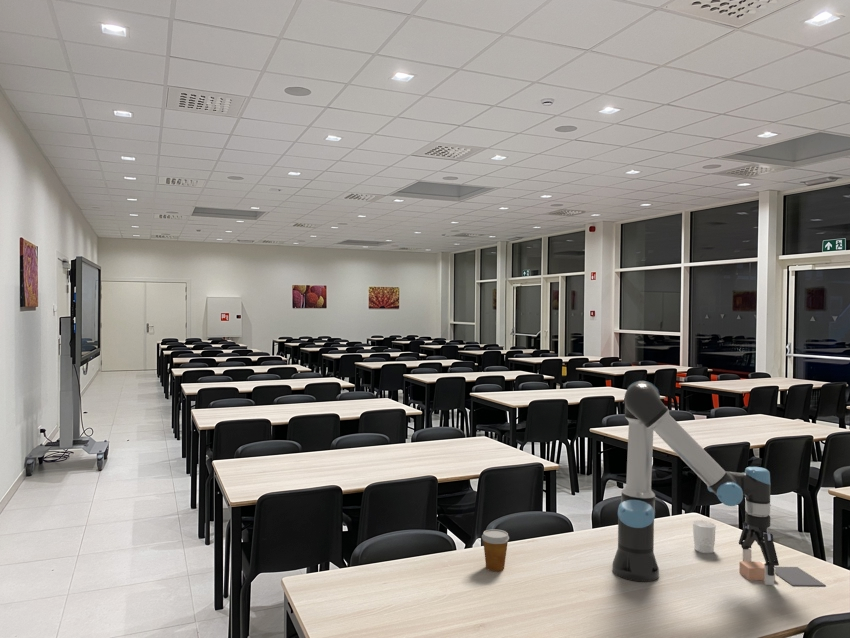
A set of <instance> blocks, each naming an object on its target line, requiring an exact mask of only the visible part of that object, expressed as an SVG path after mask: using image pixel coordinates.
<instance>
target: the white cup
mask: <svg viewBox="0 0 850 638" xmlns="http://www.w3.org/2000/svg"><path fill="white" fill-rule="evenodd" d="M716 527H717V525H716V524H715V523H713V522H712V521H707V520H694V521H693V522H692V529H693V530H692V531H693V542H694V543H693V544H694V548H693V549H694V550H695V551H697V552H699V553H703V554H713V553H714V551H715V542H716V530H717V528H716Z"/></svg>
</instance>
